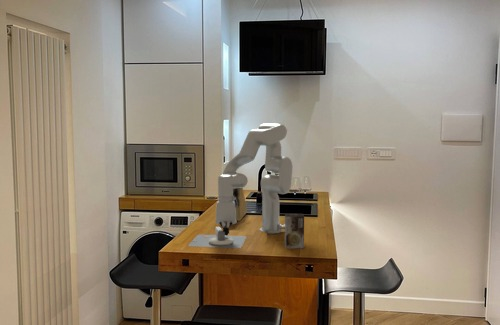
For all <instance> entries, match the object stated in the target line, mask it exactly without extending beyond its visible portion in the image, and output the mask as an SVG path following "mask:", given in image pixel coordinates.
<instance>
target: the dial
mask: <svg viewBox="0 0 500 325" xmlns="http://www.w3.org/2000/svg"><path fill="white" fill-rule="evenodd" d="M215 235H216V236H217V237H215V238H211V239H209V243H210V244H212V245H230V244H232V243H233V239H232V238H228V237H225V232H224V231H223V228H221V227H220V226H215Z"/></svg>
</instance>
